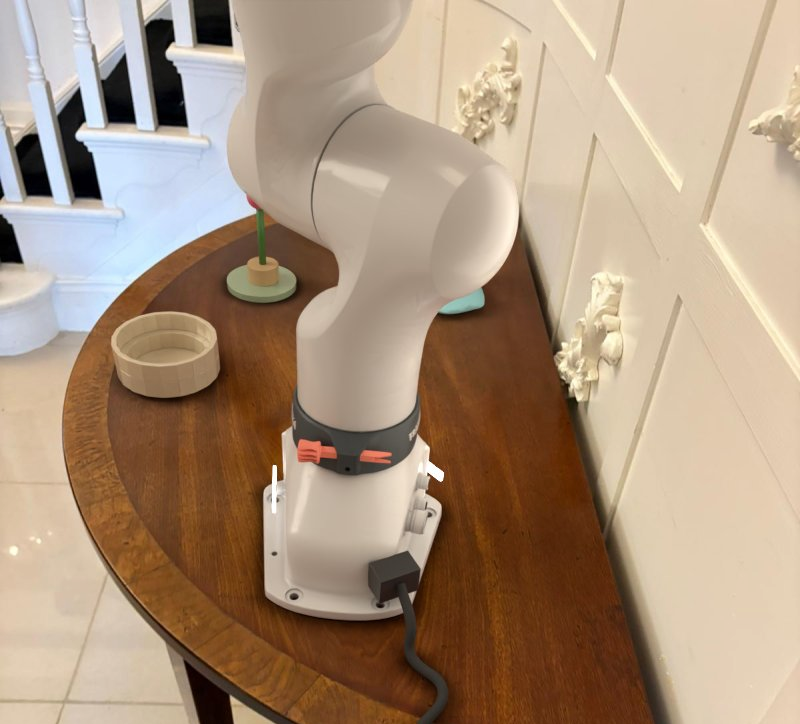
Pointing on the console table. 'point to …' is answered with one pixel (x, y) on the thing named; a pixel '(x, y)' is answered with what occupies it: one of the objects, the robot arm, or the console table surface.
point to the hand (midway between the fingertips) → (248, 42)
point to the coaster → (260, 294)
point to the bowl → (166, 354)
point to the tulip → (261, 256)
